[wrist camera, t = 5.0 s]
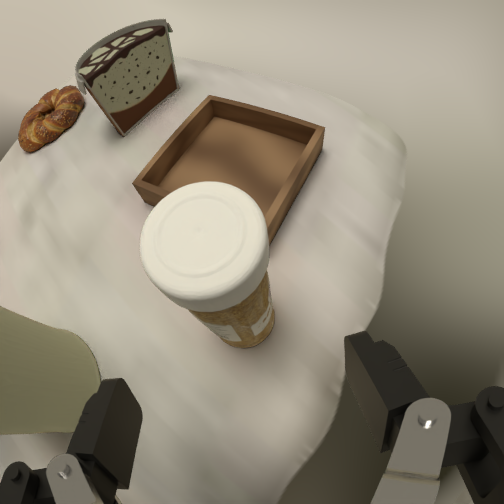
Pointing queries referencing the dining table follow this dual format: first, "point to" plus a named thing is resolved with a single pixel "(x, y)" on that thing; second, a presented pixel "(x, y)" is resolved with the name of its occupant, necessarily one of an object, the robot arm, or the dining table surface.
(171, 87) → the food container
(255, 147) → the box
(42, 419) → the can
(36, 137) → the pretzel
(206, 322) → the sprinkles bottle
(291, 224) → the dining table surface
